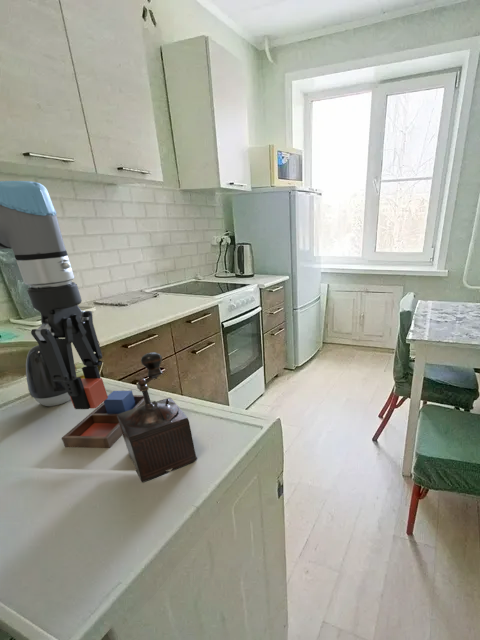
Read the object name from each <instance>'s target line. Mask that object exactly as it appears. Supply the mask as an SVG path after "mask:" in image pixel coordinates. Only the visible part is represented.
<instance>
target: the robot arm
mask: <svg viewBox="0 0 480 640" xmlns="http://www.w3.org/2000/svg"><path fill="white" fill-rule="evenodd" d="M6 249H7V250H8V249H10V250H12V252H13V255H14V258H15V261H16V264H17V266H18V271H19V272H20V275H21V278H22V281H23V284H25V285H26V286H29V287H28V288H27V290H26V291H27V294H28V297H29V300H30V302H31V305H32V308H33V309H34V310H36V311H37V312H39V313H40V318H41V319H40V322H41V325H40V326H39V327H38V328H33V329H31V331H30V334H31V336H32V337H33V339H34V340H35V341H36V342H37V345H39V347H40V349H41V352H42V355H43V357H44V360H45V362H46V365H47V367H48V370H49V373H50V375H51V378H52V380H53V381H63V382H64V384H65V387H66V389H67V391H68V395H69V396H71V399H72V401H73V403H72V405H73V404H74V406H73V408H74V407H75V408H74V410H89V409H91V408H90V405H89V402H88V399H87V396H86V393H85V390H84V386H83V383H82V380H81V377H76V370H75V364H74V363H75V359H74V353H73V347H74V349H75V350H76V352H77V354H78V356H79V358H80V360H81V362H83V364H84V365H86V366H87V367H83V368H82V371H83V374H84V377H85V378H101V374H100V371H99V368H98V367H99V366H101V365H102V363H103V362H102V359H103V353H102V349H101V346H100V343H99V340H98V336H97V333H96V329H95V326H94V320H93V319H94V317H93V312H92V311H91V310H82V309H81V308H80V307H79V305H80V304H81V303H82V296H81V293H80V290H79V286H78V284H77V283H76V282H74V279H75V278H76V277H75V274H74V272H73V271H74V270H73V269H72V265H71V262H70V258H69V256H68V252H67V249H66V245H65V242H64V238H63V235H62V231H61V227H60V223H59V220H58V216H57V210H56V209H55V207H54V204H53V202H52V198H51V196H50V194H49V191H48V189H47V187H46V186H45V185H43V184H42V183H40V182H37V181H30V180H1V181H0V250H6ZM72 345H73V346H72ZM68 373H69V374H68ZM72 401H71V402H72Z"/></svg>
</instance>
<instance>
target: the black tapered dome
mask: <svg viewBox="0 0 480 640" xmlns="http://www.w3.org/2000/svg"><path fill="white" fill-rule="evenodd" d="M68 374H69V373H68ZM25 376H26V378H25V379H26V383H27V388H28V393H29V395H30V396H31V398H33V399H34V400H35V401H36V402H37V403H38V404H39V405H42V406H45V407H54V406H59V405H62V404H65V403H68V402H70V401H71V398H70V396H69V395H68V391H67V389H66V387H65V384H64V382H63V381H53V380H52V378H51V375H50V373H49V370H48V367H47V365H46V362H45V360H44V357H43V355H42V352H41V349H40V347H39V344H36V345H34V346H33V347H31V348H30V349H29V350H28V351H27V355H26V360H25Z"/></svg>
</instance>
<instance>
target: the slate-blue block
mask: <svg viewBox="0 0 480 640" xmlns="http://www.w3.org/2000/svg"><path fill="white" fill-rule="evenodd" d="M133 395H134V394H133V390H113V391H112V392H110V393H109V394H107V396H108V398H107V399H106V400H105V401H104V404H105V407H106V411H107V414H120V413H123V412H126V411H128V410H131V409H133V408H134V407H135V406H136V404H135V400H134V397H133Z"/></svg>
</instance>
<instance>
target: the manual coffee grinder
mask: <svg viewBox="0 0 480 640" xmlns="http://www.w3.org/2000/svg"><path fill="white" fill-rule="evenodd" d="M162 361H163V356H162V355H161V354H160V353H158V352H155V351H153V352H152V351H151V352H147V353H145V354H143V355H142V357H141V358H140V362H141V365H142V366H144V367H145V368H146V369H147V378H140V379H138V381H137V384H136V387H137V388H136V389H138V391H139V392H141V393H142V395H143V397H144V400H145V404H144V405H142V406H140V407H138V408H134V409H131V410H128V411H126V412H123V413H120V414H117V418H118V421H119V424H120V428H121V431H122V437H123V440H124V443H125V446H126V449H127V452H128V456H129V458H130V460H131V462H132V464H133V466H134V468H135V469H136V470H134V471H135V473H136V474H137V476H138V478H139V480H140V481H141V483H145V482H147V481H151V480H153V479H155V478H156V479H157V478H158V477H160V476H164V475H166V474H169V473H171V472H173V471H175V470H177V469H181V468H183V467H185V466H187V465H190V464H192V463H194V462H196V461H197V460H198V457H197V454H196V449H195V445H194V439H193V435H192V429H191V424H190V421H189V418H188V417H187V415H186V414H185V412H184V411H183V410H182V409H181V408H180V406H178V404H177V402H176V401H174V400H173V398H172V397H167V398H163V399H160V400H157V401H156V400H154V401H151V397H150V394H149V389H150V387H149V386H148V385H147V384H148V383H149V382H151V381H152V380H154V379H155V380H157V379H158V377H160V376H161V375H163V371H162V370H161V363H162Z"/></svg>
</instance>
